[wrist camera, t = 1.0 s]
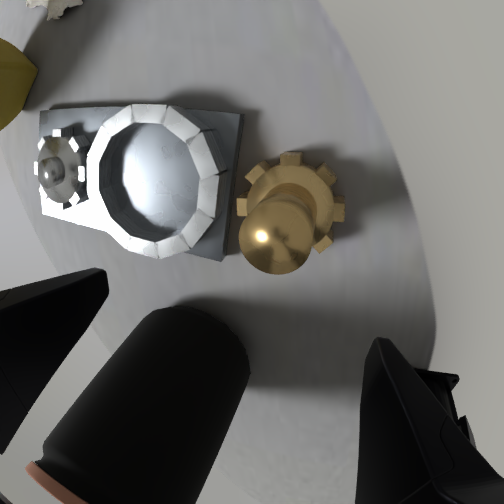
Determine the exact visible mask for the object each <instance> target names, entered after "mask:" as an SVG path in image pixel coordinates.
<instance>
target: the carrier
mask: <svg viewBox="0 0 504 504" xmlns="http://www.w3.org/2000/svg"><path fill="white" fill-rule="evenodd" d="M243 121H244V114H236V113H227V112H218V111H208V110H196V109H183V108H182V107H181V106H178V105H157V104H132V105H129V106H127V107H84V108H67V109H54V110H44V111H40V123H39V142H40V140H41V138H42V137H43V136H48V135H53V129H58V128H64V127H73V135H74V136H81V135H85V136H86V138H87V139H88V141H89V143H90V144H91V145H90V147H89V148H88V149H87V151H88V156H89V157H88V158H87V192H90V193H89V194H88V195H89V197H88V198H87V199H86V201H85V202H83V203H81V204H78V205H76V206H74V207H73V206H72V207H70V208H68V209H66V210H63V211H61V210H57V209H55V205H54V201H52V200H51V199H50V198H48V199H45V200H44V198H43V196H42V195H41V202H42V213H43V214H46V215H49V216H53V217H56V218H60V219H63V220H67V221H70V222H74V223H77V224H81V225H85V226H88V227H92V228H96V229H99V230H103V231H106V232H108V233H109V234H111V235H112V236H113V237H114V238H115V239H116V240H117V241H118V242H119V243H120V244H121V245H122V246H123V247H124V248H125V249H127V248H128V250H129V251H132V252H136V253H139V254H142V255H146V256H149V257H153V258H156V259H158V258H160V259H162V258H165V257H168V256H171V255H174V254H178V253H181V252H185V253H189V254H193V255H197V256H200V257H204V258H208V259H212V260H216V261H220V262H222V260H223V259H224V258H225V256H226V250H227V241H228V233H229V225H230V217H231V209H232V201H233V194H234V186H235V179H236V171H237V164H238V156H239V149H240V142H241V135H242V128H243ZM39 153H40V149H39ZM40 188H41V184H40Z"/></svg>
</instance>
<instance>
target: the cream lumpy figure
mask: <svg viewBox="0 0 504 504" xmlns="http://www.w3.org/2000/svg"><path fill="white" fill-rule="evenodd" d="M26 1H27V4H26V5H27V6H28V7H30V8H35V7H36V6H39V5H44V6H45V7H46V8H47V10H48V11H49V13H48V14H47V16H48V18H47V21H49V20H50V19H51V18H53V19H60V18H58V16H62V15H63V11H64V9H65V8H67V7H72V6H76V5H82V4H83V2H82V0H26Z"/></svg>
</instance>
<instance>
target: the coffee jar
mask: <svg viewBox="0 0 504 504" xmlns="http://www.w3.org/2000/svg"><path fill="white" fill-rule="evenodd" d="M250 374H251V372H250V366H249V360H248V356H247V354H246V351H245V348H244V347H243V345H242V343H241V342H240V340H239V338H238V336H237V335H235V334H234V333H233V332H232V331H231V330H230V329H229V328H228V327H227V326H226V325H225V324H224V323H222V322H221V321H219V320H218V319H216V318H214V317H213V316H211V315H210V314H207V313H205V312H202V311H199V310H197V309H194V308H189V307H181V306H175V307H168V308H163V309H157V310H154V311H152V312H151V313H150V314H148V315H147V316H146V317H145V318H143V320H142V321H141V322H140V323H139V324H138V325H137V327H136V328H135V329H134V330H133V331H132V332H131V334H130V335H129V336H128V337H127V338H126V340H125V341H124V342H123V343H122V344H121V346H120V347H119V348H118V349H117V350H116V352H115V353H114V354H113V355H112V357H111V358H110V359H109V360H108V361H107V363H106V364H105V365H104V366H103V367H102V369H101V370H100V371H99V372H98V374H97V375H96V376H95V377H94V379H93V380H92V381H91V382H90V384H89V385H88V386H87V387H86V388H85V390H84V391H83V392H82V394H81V395H80V396H79V397H78V399H77V400H76V401H75V402H74V404H73V405H72V406H71V408H70V409H69V410H68V411H67V413H66V414H65V415H64V416H63V418H62V419H61V420H60V422H59V423H58V424H57V426H56V427H55V428H54V429H53V431H52V432H51V433H50V435H49V436H48V437H47V439H46V440H45V441H44V444H43V453H44V456H43V457H42V459H41V460H38V461H35V463H36V464H35V463H34V462H32V461H31V462H30V463H29V464H28V465H27V466H26V468H25V470H26V471H27V473H28V474H29V475H30V476H31V477H32V478H33V479H34V480H35V481H36V482H37V483H38V484H39V485H40V486H41V487H43V488H44V489H45V490H46V491H47V492H49V493H50V494H51V495H52V496H54V497H55V498H56V499H57V500H59V501H60V502H61V503H63V504H195V503H196V501H197V499H198V497H199V494H200V492H201V490H202V488H203V486H204V484H205V481H206V479H207V477H208V475H209V473H210V470H211V468H212V466H213V464H214V461H215V459H216V457H217V455H218V452H219V450H220V448H221V445H222V443H223V441H224V438H225V436H226V434H227V431H228V429H229V427H230V424H231V422H232V420H233V417H234V415H235V412H236V410H237V408H238V405H239V403H240V400H241V398H242V395H243V393H244V390H245V388H246V385H247V383H248V380H249V377H250Z"/></svg>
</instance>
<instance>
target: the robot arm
mask: <svg viewBox="0 0 504 504" xmlns="http://www.w3.org/2000/svg"><path fill="white" fill-rule="evenodd" d="M108 295H109V285H108V278H107V273H106V271H105V270H103V269H100V268H97V267H94V268H90V269H86V270H82V271H78V272H74V273H70V274H66V275H62V276H58V277H54V278H50V279H46V280H42V281H38V282H34V283H30V284H26V285H22V286H19V287H15V288H12V289H7V290H3V291H0V454H1V455H2V454H3V453H4V452H5V450H6V448H7V446H8V445H9V443H10V441H11V440H12V438H13V436H14V435H15V433H16V431H17V430H18V428H19V427H20V425H21V423H22V422H23V420H24V419H25V417H26V415H27V414H28V412H29V410H30V409H31V407H32V406H33V404H34V403H35V401H36V400H37V398H38V397H39V395H40V394H41V392H42V391H43V389H44V388H45V386H46V385H47V383H48V382H49V381H50V379H51V377H52V376H53V375H54V373H55V372H56V371H57V369H58V368H59V366H60V365H61V364H62V362H63V361H64V359H65V358H66V357H67V355H68V354H69V352H70V351H71V350H72V348H73V347H74V346H75V344H76V343H77V342H78V340H79V339H80V338H81V336H82V335H83V334H84V332H85V331H86V330H87V328H88V327H89V325H90V324H91V322H92V321H93V319H94V317H95V316H96V314H97V313H98V311H99V309H100V308H101V306H102V305H103V303H104V302H105V300H106V299H107V297H108ZM458 382H459V376H458V375H457V374H449V373H442V372H434V371H428V370H421V369H414V368H412V367H411V365H410V364H409V363H408V362H407V360H406V359H405V358H404V357H403V355H402V354H401V353H400V352H399V350H398V349H397V348H396V347H395V345H394V344H393V343H392V342H391V341H390V340H389V339H388V338H382V337H376V338H375V339H374V341H373V343H372V346H371V348H370V350H369V352H368V354H367V357H366V360H365V366H364V376H363V385H362V394H361V403H360V432H359V457H358V473H357V486H356V497H355V504H504V478H502V477H501V476H500V475H499V474H497V472H496V471H495V470H494V469H493V468H492V467H491V465H490V464H489V463H488V462H487V461H486V460H485V459H484V457H483V456H482V455H481V454H480V453H479V452H478V451H477V449H476V445H475V440H474V437H473V434H472V431H471V428H470V426H469V423H468V421H467V418H466V415H465V416H463V417H460V419H459V420H458V416H457V412H456V408H455V404H454V400H453V396H452V392H451V391H452V389H453V388H454V387H455V386H456V384H457V383H458ZM0 504H12V503H11V502H10V501H9V500H8V499H7V498H6V497H5V496H4V495H3V494H2V493H1V492H0Z"/></svg>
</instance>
